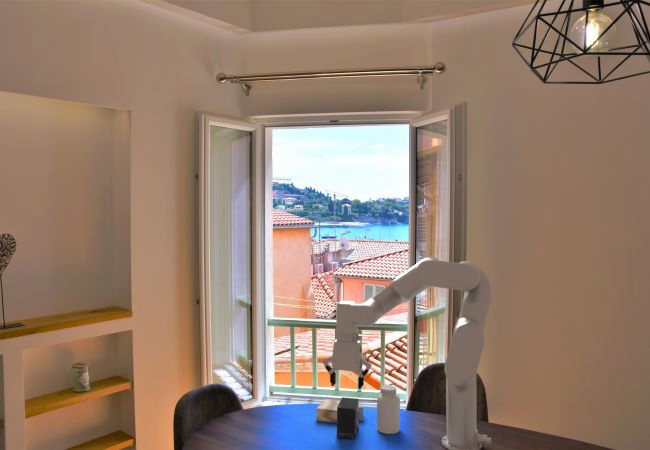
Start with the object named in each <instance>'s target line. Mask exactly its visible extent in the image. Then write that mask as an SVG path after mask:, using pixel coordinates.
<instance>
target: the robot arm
mask: <svg viewBox="0 0 650 450" xmlns="http://www.w3.org/2000/svg"><path fill="white" fill-rule="evenodd" d="M430 287H434V288H440V289H448V290H456V291H463V298H462V303H461V307H460V311H459V314H458V315H459V316H458V319H457V321H456V324H455V326H454V329H453V333H452V337H451V341H450V345H449V349H448V353H447V355H446V358H445V362H444V364H445V365H444V374H445V376H446V378H445V379H446V385H445V389H446V390H445V391H446V392H445V399H446V401H445V403H446V404H445V405H446V407H445V408H446V409H445V411H446V417H445V419H446V424H445V425H446V434H445V435H444V436H442V438H441V444H442V446H443V447H444V448H445V449H447V450H481V449H482V444H486V445H492V437H488V435H487V434H481V433H479V429H477V423H478V422H477V372H478V369H479V366H480V361H481V357H482V354H483V351H484V346H485V342H486V332H485V331H486V329H485V328H486V323H487V320H488V315H489V311H490V305H491V300H492V286H491V284H490V280H489V278H488V276H487V274H486V273H485V271H484V270H483V269H482V268H481V267H480V266H479V265H478V264H476V263H475V262H472V261H470V260H463V261H460V262H453V261H445V260H439V259H438V258H437V257H434V256H427V257H425V258H423V259H421V260H420V261H418V262H417V263H415V265H413V266H411V267H410V268H409V269H407V270H406V271H405V272H403V273H401V274H400V275H399V276H397V277H396V278H394V279H393V280H392V281H391V282H390V283H389V284H388V285H387V286H386V287H384V288H383V289H382V290H381V291H379V292H378V293H376V294H375V295H374V296H372V297H370V298H369V299H368V300H366V301H365V302H363V303H361V304H360V303H357V302H356V301H353V300H352V301H351V300H342V301H339V302H337V304H336V318H335V319H336V323H335V324H336V329H335V330H336V338H335V340H334V342H333V347H332V355H331V356H329V357H327V358H325V359H323V360H322V363H323V366H324V368H325V370H326V371H327V372H328V374H329V383H331V384H330V385H331V386H332V387H334V386H335V385H336V382H337V378H336V377H337V373H336V370H337V371H347V372H355V373H356V374H357V375H358V377H357V382H358V383H357V389H359V390H362V388H363V387H364V385H365V384H364V383H365V380H364V378H365V376H366V375H367V374H368V373H369V371H370V370H371V368H372V365H373V364H371V362H369V361H367V360H366V359H364V358H363V350H362V349H363V348H362V343H361V340H362V339H363V335H362V334H360V331H359V325H360V326H365V327H369V326H373V325H375V324H376V323H377V322H378V320H379V319H380V318H382V317H383V316H385V315H386V314H388V313H389V312H391V310H392V311H393V309H395V308H396V307H397V306H400V305H401V304H405V303H408V302H409V301H411V300H412V299H414V298H416V296H418V295H419V294H421V293H423V292H424V291H425V290H426V289H428V288H430ZM329 362H331V366H330V364H329ZM363 366H365V369H364V370H363Z"/></svg>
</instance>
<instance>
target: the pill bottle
mask: <svg viewBox="0 0 650 450" xmlns="http://www.w3.org/2000/svg"><path fill="white" fill-rule="evenodd" d="M376 404H377V405H376V429H377V431H378V432H379V433H382V434H386V435H394V434H398V433H399V432H400V428H401V426H400V425H401V399H400V396H399V395H398V394H397V388H396V386H394V385H389V384H388V385H387V384H386V385H382V386H381V388H380V393H379V395H378V396H377V397H376Z"/></svg>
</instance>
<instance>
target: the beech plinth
mask: <svg viewBox="0 0 650 450" xmlns="http://www.w3.org/2000/svg"><path fill="white" fill-rule="evenodd" d="M340 401H341V400H337V399H328V398H327V399H326V398H325V399H323V400H322V402H321V403H320V404H319V405H318V406H317V407H316V421H319V422H326V423H327V422H328V423H336V424H337V407H338V405H339V403H340Z"/></svg>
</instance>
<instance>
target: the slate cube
mask: <svg viewBox="0 0 650 450" xmlns="http://www.w3.org/2000/svg"><path fill="white" fill-rule="evenodd" d="M360 421H361V422H363V421H364V402H359V422H360Z"/></svg>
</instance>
